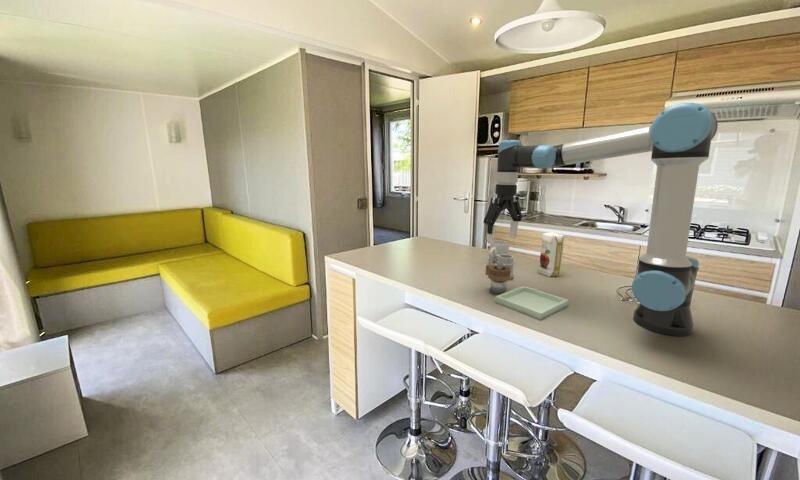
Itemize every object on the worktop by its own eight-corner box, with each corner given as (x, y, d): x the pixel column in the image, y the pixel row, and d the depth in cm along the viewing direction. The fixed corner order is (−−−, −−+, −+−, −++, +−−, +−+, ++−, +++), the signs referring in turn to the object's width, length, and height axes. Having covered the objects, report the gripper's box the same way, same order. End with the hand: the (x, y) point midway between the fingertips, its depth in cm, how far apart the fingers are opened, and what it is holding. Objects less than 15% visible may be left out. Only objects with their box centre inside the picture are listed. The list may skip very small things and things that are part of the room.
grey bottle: (508, 292, 134) (511, 263, 131) (499, 296, 130) (501, 266, 128) (496, 288, 139) (498, 260, 136) (486, 291, 135) (488, 262, 132)
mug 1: (495, 257, 183) (496, 239, 180) (510, 261, 176) (512, 242, 174) (482, 262, 174) (483, 243, 172) (497, 266, 168) (498, 246, 165)
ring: (513, 278, 132) (514, 268, 132) (501, 283, 128) (501, 272, 127) (493, 272, 140) (493, 262, 139) (480, 276, 135) (481, 266, 134)
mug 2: (506, 281, 147) (508, 254, 144) (484, 274, 156) (485, 249, 153) (516, 277, 151) (518, 251, 149) (494, 271, 160) (496, 246, 158)
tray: (568, 306, 122) (568, 300, 121) (540, 320, 111) (541, 313, 111) (523, 291, 136) (523, 285, 135) (495, 302, 125) (495, 296, 124)
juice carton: (549, 270, 161) (553, 231, 157) (562, 276, 153) (567, 235, 149) (536, 272, 159) (539, 232, 154) (549, 278, 151) (553, 236, 147)
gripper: (517, 182, 136) (513, 233, 141) (475, 184, 121) (472, 242, 126) (534, 183, 130) (529, 237, 135) (492, 185, 115) (488, 246, 120)
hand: (502, 239), depth 130 cm, fingers open, 13 cm apart
